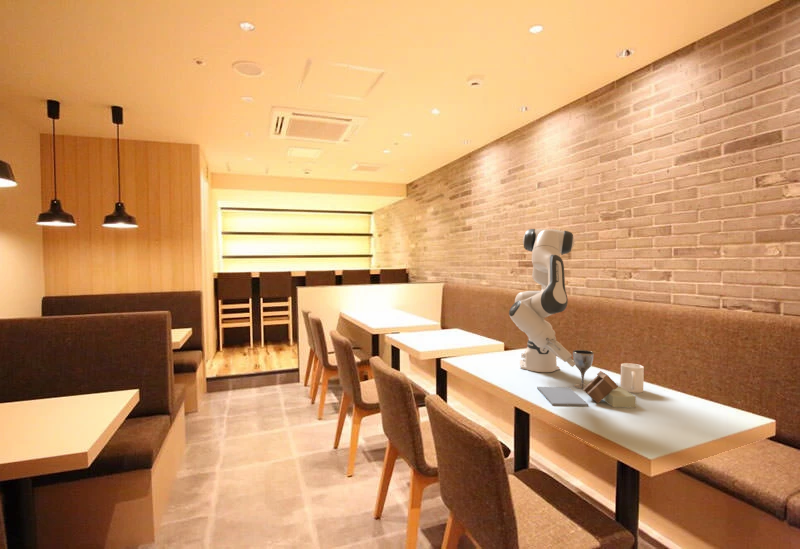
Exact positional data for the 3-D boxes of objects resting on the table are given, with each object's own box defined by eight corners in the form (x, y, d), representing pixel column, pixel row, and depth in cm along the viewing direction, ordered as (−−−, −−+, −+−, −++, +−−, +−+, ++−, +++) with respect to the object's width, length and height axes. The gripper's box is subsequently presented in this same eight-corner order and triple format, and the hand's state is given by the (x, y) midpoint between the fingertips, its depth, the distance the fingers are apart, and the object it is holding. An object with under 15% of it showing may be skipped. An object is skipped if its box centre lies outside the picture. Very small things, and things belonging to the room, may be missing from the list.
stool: (582, 398, 157) (582, 370, 157) (611, 398, 157) (611, 370, 156) (588, 403, 152) (588, 374, 151) (618, 403, 151) (618, 374, 151)
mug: (645, 397, 159) (646, 371, 159) (621, 394, 162) (622, 368, 162) (642, 388, 170) (642, 364, 169) (619, 386, 173) (620, 362, 173)
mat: (537, 388, 169) (537, 386, 169) (569, 389, 169) (569, 387, 169) (552, 405, 149) (552, 403, 149) (588, 406, 149) (588, 404, 149)
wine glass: (569, 386, 172) (569, 351, 172) (576, 382, 178) (577, 348, 177) (588, 390, 167) (589, 354, 166) (595, 386, 172) (596, 351, 172)
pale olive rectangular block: (598, 396, 160) (599, 386, 160) (619, 396, 160) (619, 386, 159) (612, 406, 148) (613, 396, 148) (635, 407, 148) (635, 396, 147)
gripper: (558, 335, 144) (585, 363, 144) (541, 326, 165) (566, 350, 164) (545, 347, 145) (572, 375, 144) (530, 337, 165) (554, 361, 165)
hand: (569, 362), depth 155 cm, fingers open, 8 cm apart
